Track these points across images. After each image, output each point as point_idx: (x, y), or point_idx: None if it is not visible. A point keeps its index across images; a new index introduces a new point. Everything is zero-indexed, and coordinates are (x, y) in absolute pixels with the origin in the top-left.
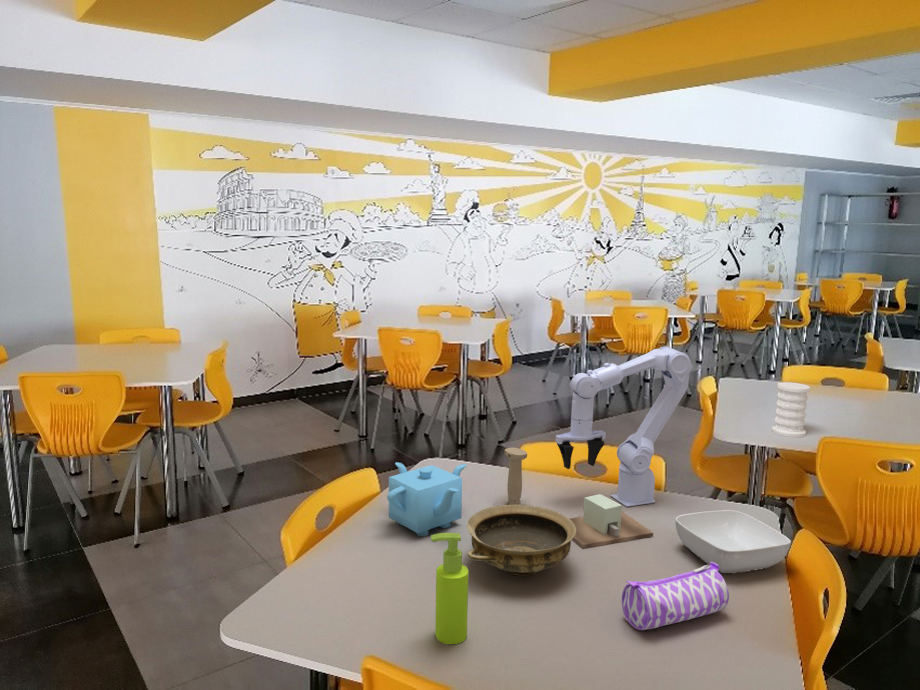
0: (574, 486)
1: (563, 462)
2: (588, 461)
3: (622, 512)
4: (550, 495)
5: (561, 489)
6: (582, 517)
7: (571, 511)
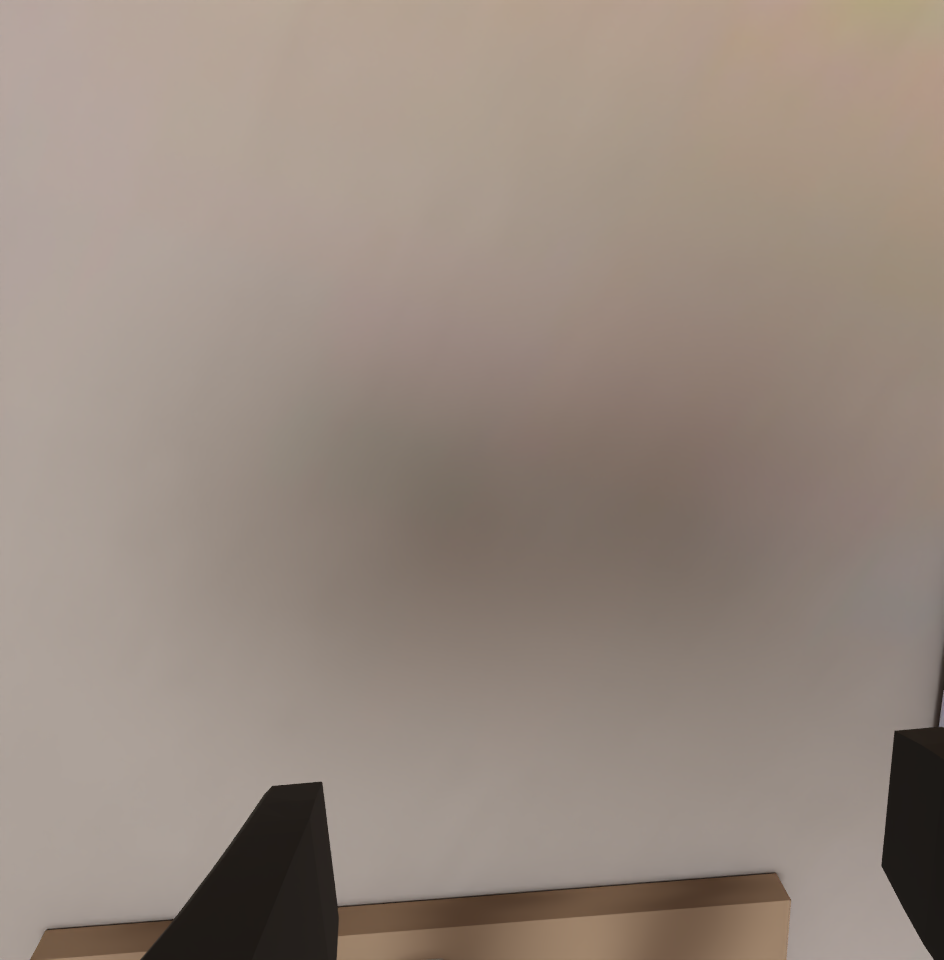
0: (757, 52)
1: (234, 842)
2: (925, 768)
3: (775, 940)
4: (298, 255)
5: (532, 101)
6: (342, 955)
7: (345, 721)
